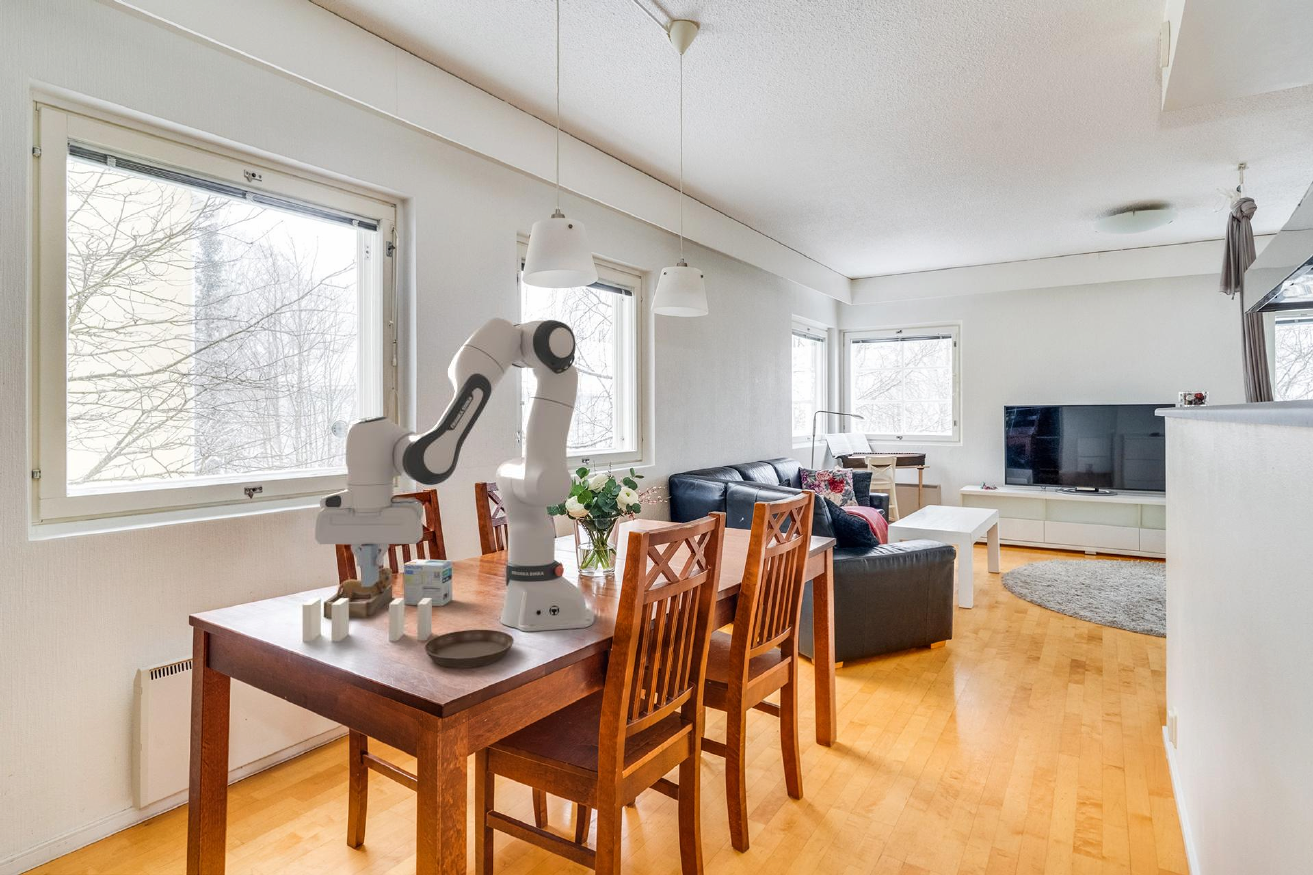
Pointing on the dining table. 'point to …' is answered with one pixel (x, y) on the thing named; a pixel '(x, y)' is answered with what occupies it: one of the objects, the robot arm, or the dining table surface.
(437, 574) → the light bulb box
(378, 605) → the brown tray
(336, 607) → the domino
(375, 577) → the domino
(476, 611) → the dining table surface
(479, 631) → the plant saucer
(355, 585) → the lion figurine
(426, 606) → the domino
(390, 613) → the domino
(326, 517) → the robot arm
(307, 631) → the domino
